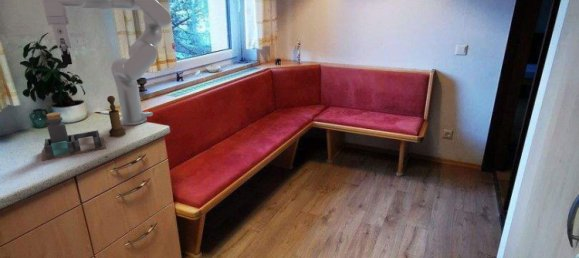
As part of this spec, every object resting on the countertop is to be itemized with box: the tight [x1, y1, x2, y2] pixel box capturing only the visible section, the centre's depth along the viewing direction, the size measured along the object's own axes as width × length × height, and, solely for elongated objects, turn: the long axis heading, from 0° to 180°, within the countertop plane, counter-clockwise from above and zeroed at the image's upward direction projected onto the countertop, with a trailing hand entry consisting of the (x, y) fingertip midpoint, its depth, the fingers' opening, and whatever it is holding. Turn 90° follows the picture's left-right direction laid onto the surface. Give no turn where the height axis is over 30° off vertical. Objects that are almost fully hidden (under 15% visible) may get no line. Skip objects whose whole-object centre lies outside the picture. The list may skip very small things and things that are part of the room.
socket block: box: [41, 130, 107, 162], centre depth 140 cm, size 22×14×6 cm, turn 122°
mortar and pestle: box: [106, 95, 127, 138], centre depth 153 cm, size 7×6×18 cm
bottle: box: [45, 111, 69, 143], centre depth 137 cm, size 6×6×15 cm
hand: (67, 62), depth 147 cm, fingers open, 9 cm apart
